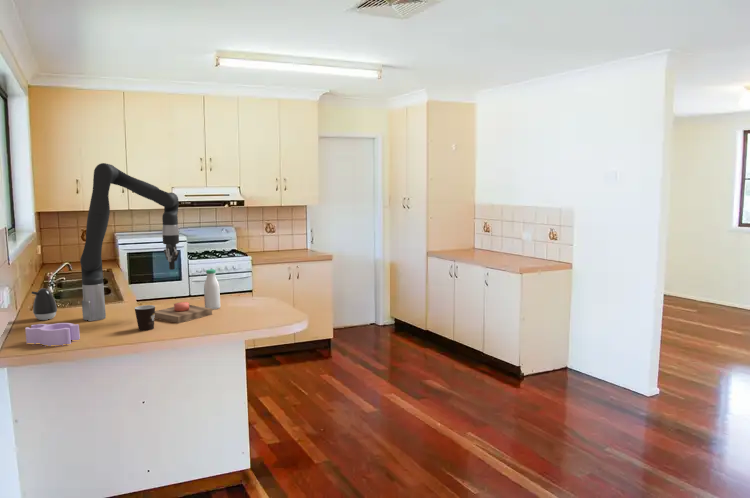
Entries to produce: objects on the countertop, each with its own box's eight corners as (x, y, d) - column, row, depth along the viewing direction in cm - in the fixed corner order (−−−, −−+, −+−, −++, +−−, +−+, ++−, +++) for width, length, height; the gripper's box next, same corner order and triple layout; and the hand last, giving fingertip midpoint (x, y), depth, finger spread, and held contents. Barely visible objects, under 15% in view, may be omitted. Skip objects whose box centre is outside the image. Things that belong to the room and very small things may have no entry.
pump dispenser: (30, 319, 296) (27, 288, 294) (53, 315, 303) (50, 285, 301) (37, 322, 289) (35, 291, 287) (61, 318, 296) (58, 288, 295)
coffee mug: (144, 332, 268) (142, 310, 267) (131, 330, 272) (130, 308, 271) (166, 326, 278) (164, 305, 276) (153, 324, 282) (152, 303, 281)
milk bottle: (223, 307, 315) (221, 269, 313) (212, 310, 309) (210, 271, 306) (213, 306, 320) (211, 268, 317) (201, 308, 313) (199, 270, 311)
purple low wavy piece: (20, 346, 249) (18, 330, 248) (39, 338, 261) (37, 322, 260) (66, 347, 247) (65, 330, 246) (83, 338, 260) (82, 323, 259)
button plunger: (180, 311, 292) (180, 305, 292) (171, 310, 296) (170, 304, 296) (192, 309, 298) (192, 303, 297) (183, 307, 302) (182, 301, 301)
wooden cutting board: (178, 323, 283) (178, 316, 283) (151, 318, 295) (151, 311, 294) (212, 314, 300) (211, 308, 300) (185, 310, 311) (185, 304, 311)
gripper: (183, 234, 293) (185, 270, 295) (172, 232, 303) (173, 267, 305) (168, 235, 288) (170, 271, 290) (157, 233, 298) (159, 268, 300)
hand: (171, 269), depth 297 cm, fingers closed
